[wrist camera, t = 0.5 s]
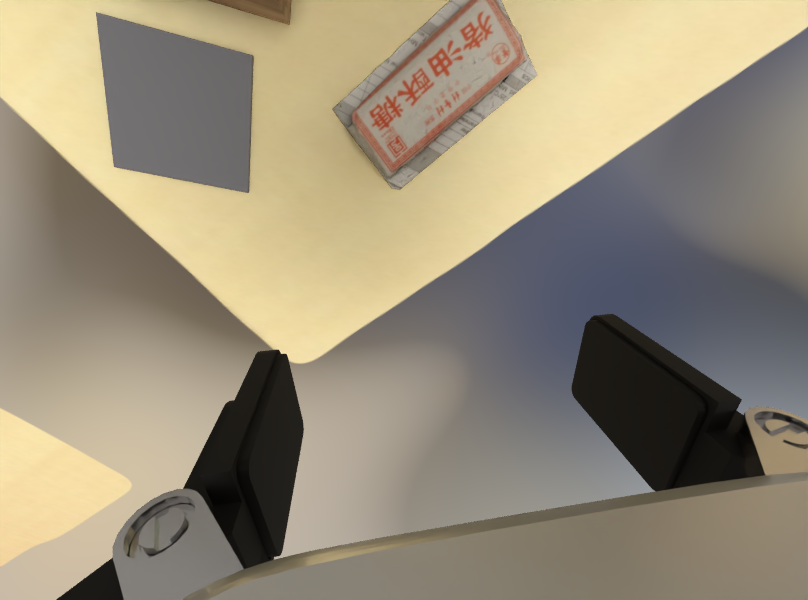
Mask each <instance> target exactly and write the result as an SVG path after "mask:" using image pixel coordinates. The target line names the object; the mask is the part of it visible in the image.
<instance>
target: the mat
mask: <svg viewBox="0 0 808 600" xmlns="http://www.w3.org/2000/svg"><path fill="white" fill-rule="evenodd" d="M96 16H97V25H98V34H99V42H100V51H101V59H102V68H103V77H104V85H105V94H106V102H107V111H108V120H109V128H110V137H111V146H112V154H113V163H114V167H117V168H122V169H127V170H133V171H138V172H143V173H148V174H153V175H158V176H164V177H169V178H174V179H179V180H184V181H189V182H194V183H200V184H205V185H210V186H215V187H220V188H225V189H230V190H236V191H241V192H246V193H249V174H250V144H251V114H252V84H253V56H252V55H249V54H245V53H242V52H238V51H235V50H231V49H227V48H224V47H220V46H216V45H213V44H209V43H205V42H202V41H198V40H195V39H191V38H187V37H184V36H180V35H176V34H173V33H169V32H166V31H162V30H158V29H155V28H151V27H147V26H144V25H140V24H136V23H133V22H129V21H126V20H122V19H118V18H115V17H111V16H107V15H104V14H100V13H97V12H96Z"/></svg>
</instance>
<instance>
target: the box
mask: <svg viewBox="0 0 808 600" xmlns="http://www.w3.org/2000/svg"><path fill="white" fill-rule="evenodd" d="M209 1H212V2H216V3H219V4H222V5H226V6H229V7H232V8H236V9H239V10H242V11H246V12H249V13H252V14H256V15H259V16H262V17H266V18H269V19H272V20H276V21H279V22H282V23H286V24H289V25H290V11H291V0H209Z"/></svg>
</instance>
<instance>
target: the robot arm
mask: <svg viewBox="0 0 808 600" xmlns="http://www.w3.org/2000/svg"><path fill="white" fill-rule="evenodd" d="M572 393H573V396H574V398H575V399H576V400H577V401H578V403H579V404H580V405H581V406H582V407H583V409H584V410H585V411H586V412H587V413H588V414H589V416H590V417H591V418H592V419H593V420H594V421H595V422H596V424H597V425H598V426H599V427H600V428H601V430H602V431H603V432H604V433H605V434H606V435H607V437H608V438H609V439H610V440H611V441H612V442H613V443H614V445H615V446H616V447H617V448H618V450H619V451H620V452H621V453H622V454H623V455H624V457H625V458H626V459H627V460H628V461H629V462H630V464H631V465H632V466H633V467H634V468H635V469H636V471H637V472H638V473H639V474H640V475H641V476H642V478H643V479H644V480H645V481H646V482H647V483H648V485H649V486H650V487H651V488H652V489H653V490H655V491H656V492H650V493H644V494H638V495H631V496H625V497H619V498H613V499H606V500H601V501H595V502H589V503H582V504H576V505H570V506H564V507H558V508H552V509H546V510H540V511H534V512H528V513H522V514H516V515H510V516H504V517H498V518H492V519H486V520H480V521H474V522H468V523H463V524H457V525H451V526H445V527H440V528H434V529H428V530H422V531H416V532H410V533H404V534H399V535H393V536H387V537H382V538H376V539H371V540H366V541H360V542H355V543H350V544H345V545H339V546H335V547H330V548H324V549H319V550H314V551H309V552H304V553H300V554H296V555H292V556H288V557H283V558H280V559H276V560H274V557H276V556H280V555H281V553H282V550H283V545H284V539H285V533H286V528H287V522H288V516H289V511H290V506H291V500H292V494H293V489H294V483H295V478H296V472H297V466H298V461H299V455H300V450H301V444H302V438H303V430H304V428H303V420H302V416H301V411H300V407H299V403H298V399H297V394H296V390H295V386H294V382H293V378H292V373H291V369H290V365H289V360H288V357H287V354H281V353H280V351H279V350H269V351H260V352H257V354H256V355H255V358H254V360H253V362H252V364H251V366H250V368H249V370H248V373H247V375H246V377H245V379H244V381H243V383H242V386H241V388H240V390H239V392H238V394H237V396H236V398H235V400H234V401H229V402H227V403H226V404H225V406H224V408H223V410H222V412H221V414H220V416H219V418H218V420H217V422H216V424H215V426H214V428H213V430H212V432H211V434H210V436H209V438H208V440H207V442H206V444H205V446H204V448H203V450H202V452H201V454H200V456H199V458H198V460H197V462H196V464H195V466H194V468H193V470H192V472H191V474H190V476H189V478H188V480H187V482H186V484H185V486H184V488H183V489H177V490H174V491H170V492H167V493H164V494H162V495H160V496H158V497H156V498H154V499H152V500H150V501H149V502H148V503H147V504H145V505H144V506H142V507H141V508H140V509H138V510H137V511H136V512H135V513H134V515H132V516H131V517H130V519H128V521H127V522H126V523H125V524H124V526H123V527H122V529H121V530H120V532H119V533H118V535H117V537H116V540H115V543H114V545H113V558H112V559H110V560H109V561H108V562H106V563H105V564H104V565H102V566H101V567H100V568H98V569H97V570H96V571H94V572H93V573H92V574H90V575H89V576H88V577H86V578H85V579H83V580H82V581H81V582H79V583H78V584H77V585H76V586H74V587H73V588H71V589H70V590H69V591H67V592H66V593H65V594H63V595H62V596H61V597H59V598H58V599H57V600H808V420H806V419H804V418H802V417H799V416H797V415H795V414H792V413H789V412H786V411H783V410H780V409H775V408H770V407H753V408H749V409H748V410H747V411H746V412H745V413H744V415H742V414H741V413H739V412H738V411H736V410H737V408H738V406H739V404H740V402H741V399H740V398H739V397H737V396H736V395H734V394H733V393H731V392H730V391H728V390H727V389H725V388H724V387H722V386H721V385H719V384H718V383H716V382H714V381H713V380H712V379H710V378H708V377H707V376H706V375H704V374H703V373H701V372H700V371H698V370H697V369H695V368H693V367H692V366H691V365H689V364H688V363H686V362H685V361H683V360H682V359H680V358H679V357H677V356H676V355H674V354H673V353H671V352H670V351H668V350H667V349H665V348H664V347H662V346H661V345H659V344H658V343H656V342H655V341H653V340H652V339H650V338H649V337H647V336H646V335H644V334H643V333H641V332H640V331H638V330H637V329H635V328H634V327H632V326H631V325H629V324H628V323H626V322H624V321H623V320H622V319H620V318H619V317H617V316H616V315H614V314H605V315H596V316H593V317H591V319H590V321H588V322H587V323H586V325H585V329H584V333H583V338H582V342H581V347H580V351H579V356H578V360H577V365H576V369H575V374H574V379H573V383H572Z"/></svg>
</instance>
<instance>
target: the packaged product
mask: <svg viewBox="0 0 808 600" xmlns="http://www.w3.org/2000/svg"><path fill="white" fill-rule="evenodd" d="M536 76H537V73H536V71H535V69H534V66H533V64H532V62H531V60H530V58H529V55H528V54H527V52H526V49H525V47H524V44H523V42H522V37H521V35H520V34H519V33H518V31H517V30H516V28H515V27H514V26H513V25H512V23H511V20H510V18H509V16H508V14H507V12H506V10H505V8H504V5H503V3H502V1H501V0H450V1H449V2H448V3H447V4H446V5H445V6H444V7H443V8H442V9H440V10H439V11H438V12H437V13H436V14H435V15H434V16H433V17H432V18H431V19H430V20H429V21H428V22H427V23H425V24H424V25H423V26H422V27H421V28H420V29H419V30H418V31H417V32H416V33H415V34H414V35H413V36H412V37H411V38H409V39H408V40H407V41H406V42H405V43H404V44H403V45H402V46H401V47H399V48H398V49H397V51H396V52H395V53H394V54H393V55H392V56H391V57H390V58H388V59H387V60H386V61H385V62H384V63H383V64H381V65H380V66H379V67H378V68H376V69H375V70H374V71H373V72H372V73H371V74H370V75H369V76H368V77H367V78H366V79H365V80H364V81H363V82H362V83H361V84H360V85H359V86H358V87H356V88H355V89H354V90H353V91H352V92H351V93H350V94H349V95H348V96H347V97H346V98H344V99H343V100H342V101H341V102H340V103H339V104H338V105H337V106H336V107H334V108H333V111H334V112H335V113H336V115H337V116H338V117H339V119H340V120H341V122H342V123H343V124H344V126H345V127H346V128H347V130H348V131H349V133H350V134H351V135H352V137H353V138H354V139H355V141H356V142H357V143H358V145H359V146H360V147H361V148H362V150H363V151H364V152H365V154H366V155H367V156H368V157H369V159H370V160H371V161H372V162H373V164H374V165H375V166H376V167H377V169H378V170H379V171H380V173H381V174H382V176H383V177H384V178H385V180H386V181H387V182H388V184H389V185H390V187H391V188H393V189H401V188H403V187H404V186H405V185H406V184H407V183H408V182H410V181H411V180H412V179H413V178H414V177H415V176H417V175H418V174H419V173H420V172H421V171H423V170H424V169H425V168H426V167H427V166H429V165H430V164H431V163H432V162H433V161H435V160H436V159H437V158H438V157H439V156H441V155H442V154H443V153H444V152H445V151H447V150H448V149H449V148H450V147H452V146H453V145H454V144H455V143H456V142H458V141H459V140H460V139H461V138H462V137H464V136H465V135H466V134H467V133H468V132H470V131H471V130H472V129H473V128H474V127H475V126H477V125H478V124H479V123H480V122H481V121H483V120H484V119H485V118H486V117H487V116H488V115H490V114H491V113H492V112H493V111H495V110H496V109H497V108H498V107H499V106H501V105H502V104H503V103H504V102H505V101H507V100H508V99H509V98H510V97H512V96H513V95H514V94H515V93H516V92H517V91H519V90H520V89H521V88H522V87H523V86H525V85H526V84H527V83H528V82H530V81H531V80H532V79H533V78H535V77H536Z"/></svg>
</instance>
